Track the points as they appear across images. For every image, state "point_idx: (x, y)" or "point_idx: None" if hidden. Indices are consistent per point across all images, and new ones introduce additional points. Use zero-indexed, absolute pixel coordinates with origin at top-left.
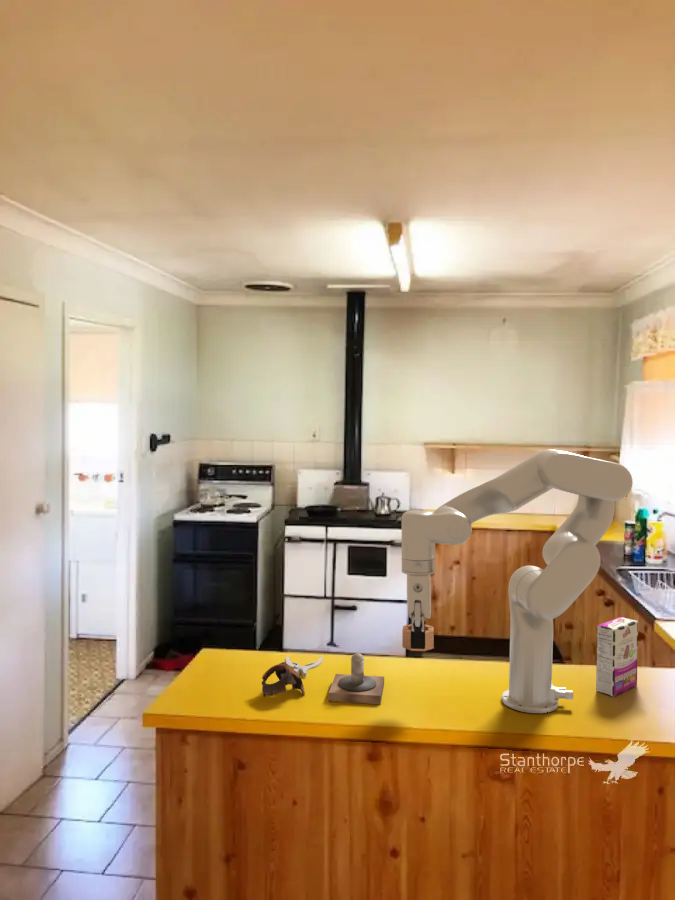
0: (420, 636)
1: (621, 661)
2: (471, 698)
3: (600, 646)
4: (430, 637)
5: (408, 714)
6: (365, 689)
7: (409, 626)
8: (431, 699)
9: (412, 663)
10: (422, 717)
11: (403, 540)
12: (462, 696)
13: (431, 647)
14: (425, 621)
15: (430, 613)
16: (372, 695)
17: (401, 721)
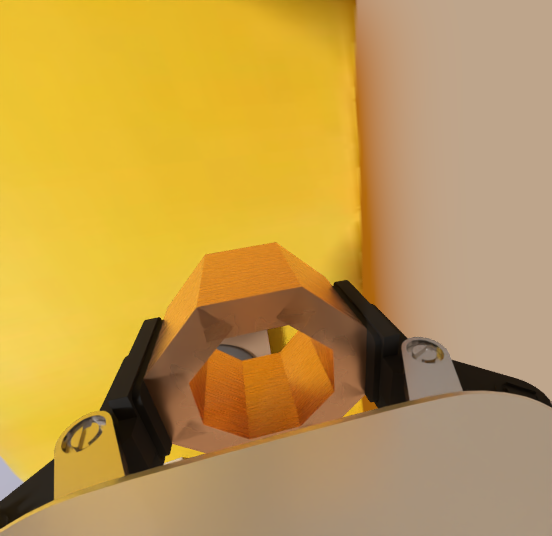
0: (400, 335)
1: None
2: (130, 84)
3: None
4: (314, 283)
5: (297, 245)
6: (250, 356)
7: (239, 436)
8: (190, 208)
9: None
10: (306, 212)
11: None
12: (127, 118)
13: (289, 254)
14: (127, 394)
15: (516, 443)
16: (267, 335)
17: (335, 251)
